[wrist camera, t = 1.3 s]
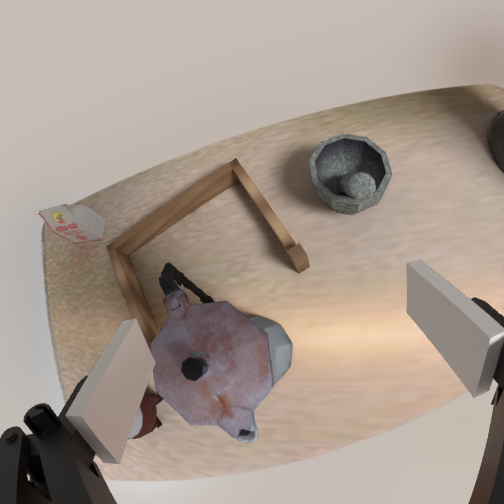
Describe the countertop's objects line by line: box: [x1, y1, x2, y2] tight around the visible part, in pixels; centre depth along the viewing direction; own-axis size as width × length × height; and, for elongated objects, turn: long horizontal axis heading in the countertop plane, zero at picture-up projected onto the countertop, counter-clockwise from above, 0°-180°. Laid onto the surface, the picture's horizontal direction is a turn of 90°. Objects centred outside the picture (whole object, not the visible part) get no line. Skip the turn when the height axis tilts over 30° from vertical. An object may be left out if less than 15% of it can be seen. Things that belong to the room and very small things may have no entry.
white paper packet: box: [39, 204, 106, 244], centre depth 45 cm, size 4×7×10 cm, turn 90°
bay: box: [107, 159, 310, 354], centre depth 40 cm, size 17×23×5 cm
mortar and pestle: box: [309, 134, 392, 215], centre depth 35 cm, size 11×9×12 cm
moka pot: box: [151, 263, 292, 443], centre depth 28 cm, size 10×15×20 cm, turn 32°
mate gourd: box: [128, 392, 163, 439], centre depth 31 cm, size 8×8×15 cm
